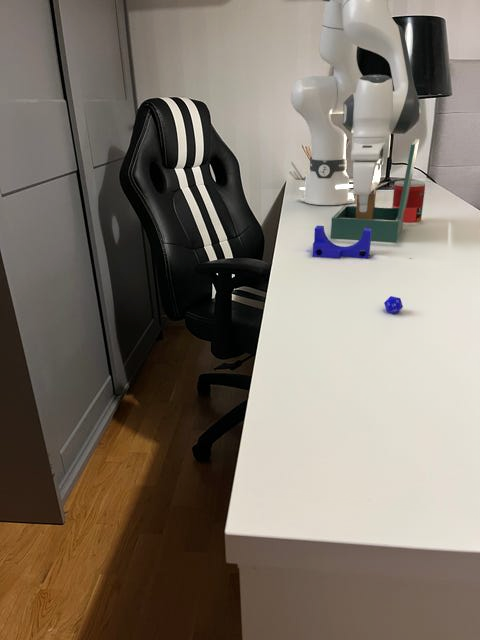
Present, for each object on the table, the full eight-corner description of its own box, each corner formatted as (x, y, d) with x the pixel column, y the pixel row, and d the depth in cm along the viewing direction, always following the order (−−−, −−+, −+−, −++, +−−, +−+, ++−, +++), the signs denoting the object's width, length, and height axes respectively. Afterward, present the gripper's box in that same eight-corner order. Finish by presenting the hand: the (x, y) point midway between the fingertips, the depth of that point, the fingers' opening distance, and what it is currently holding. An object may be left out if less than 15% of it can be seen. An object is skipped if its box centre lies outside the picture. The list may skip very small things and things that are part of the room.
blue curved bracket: (312, 256, 111) (313, 230, 109) (316, 251, 115) (317, 225, 113) (367, 260, 108) (369, 232, 105) (369, 254, 112) (371, 228, 109)
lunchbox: (330, 241, 123) (331, 218, 121) (342, 226, 137) (344, 205, 135) (396, 245, 118) (398, 221, 115) (402, 230, 132) (404, 208, 130)
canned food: (422, 225, 136) (427, 184, 131) (391, 225, 137) (395, 184, 133) (419, 219, 143) (423, 180, 138) (390, 219, 144) (393, 180, 140)
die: (405, 314, 80) (402, 303, 78) (389, 319, 81) (385, 308, 79) (401, 301, 82) (397, 290, 80) (385, 305, 83) (381, 295, 81)
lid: (411, 144, 108) (415, 144, 108) (415, 139, 123) (419, 139, 122) (397, 219, 115) (400, 219, 115) (402, 206, 129) (406, 206, 129)
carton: (357, 230, 130) (359, 190, 126) (372, 231, 128) (376, 191, 125) (354, 233, 126) (357, 193, 122) (370, 234, 125) (373, 194, 121)
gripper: (363, 146, 129) (359, 200, 135) (349, 153, 112) (346, 215, 117) (388, 146, 127) (383, 201, 133) (378, 153, 110) (373, 216, 115)
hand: (366, 208), depth 125 cm, fingers open, 8 cm apart
